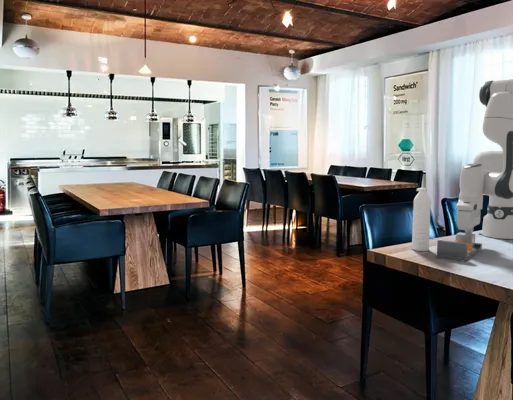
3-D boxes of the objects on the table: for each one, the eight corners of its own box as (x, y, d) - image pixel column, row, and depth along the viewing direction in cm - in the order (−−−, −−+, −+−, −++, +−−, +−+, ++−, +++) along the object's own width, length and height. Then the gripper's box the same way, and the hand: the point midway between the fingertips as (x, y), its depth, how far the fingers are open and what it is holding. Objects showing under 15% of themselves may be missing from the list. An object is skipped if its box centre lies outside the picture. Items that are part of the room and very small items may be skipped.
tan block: (458, 244, 186) (459, 232, 185) (474, 246, 182) (475, 234, 181) (455, 246, 182) (455, 234, 181) (471, 248, 178) (472, 236, 177)
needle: (453, 246, 182) (453, 241, 181) (472, 249, 177) (472, 243, 177) (452, 247, 180) (452, 242, 180) (471, 249, 176) (471, 244, 176)
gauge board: (455, 246, 189) (456, 231, 189) (481, 249, 183) (482, 234, 182) (436, 256, 171) (437, 240, 170) (465, 261, 165) (466, 244, 164)
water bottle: (414, 247, 187) (416, 186, 184) (430, 249, 184) (433, 187, 181) (408, 251, 180) (410, 188, 177) (425, 253, 177) (428, 189, 174)
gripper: (469, 201, 193) (467, 233, 195) (454, 205, 178) (452, 240, 179) (485, 202, 189) (483, 235, 191) (472, 207, 174) (470, 242, 175)
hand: (468, 237), depth 185 cm, fingers closed
